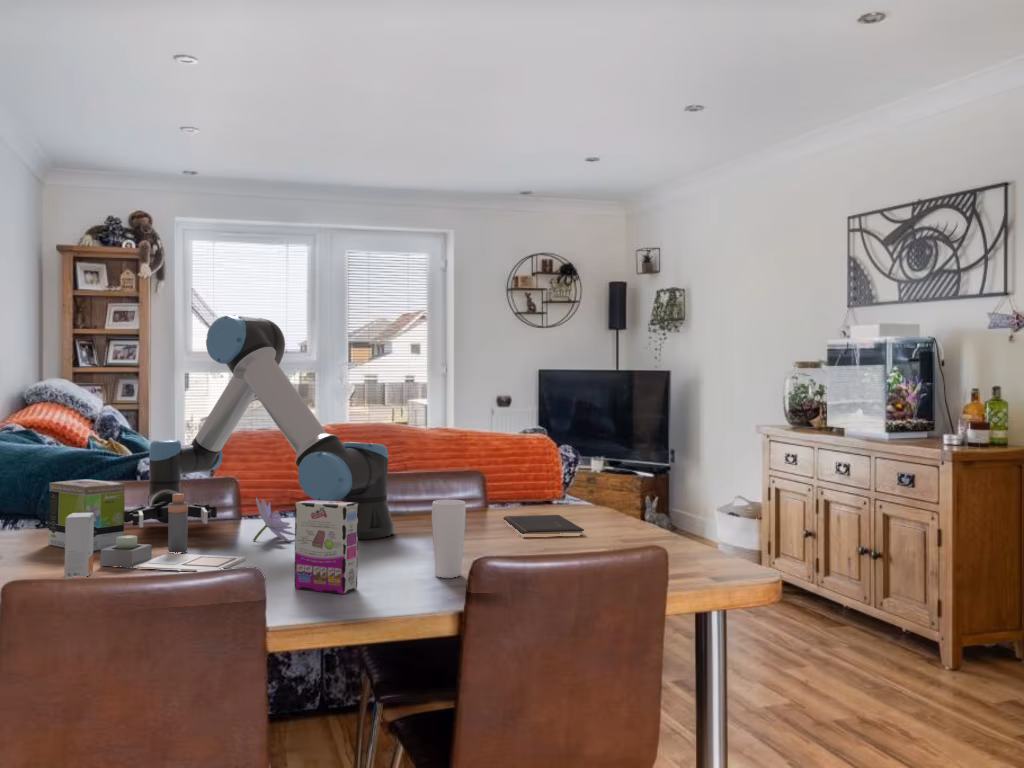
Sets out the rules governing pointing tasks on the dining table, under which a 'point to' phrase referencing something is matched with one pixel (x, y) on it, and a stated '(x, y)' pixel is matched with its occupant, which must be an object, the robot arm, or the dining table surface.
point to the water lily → (272, 521)
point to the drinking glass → (448, 536)
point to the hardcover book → (542, 524)
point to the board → (190, 562)
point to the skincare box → (79, 544)
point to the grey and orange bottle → (177, 524)
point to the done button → (126, 542)
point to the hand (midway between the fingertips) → (174, 519)
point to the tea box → (87, 509)
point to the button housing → (126, 556)
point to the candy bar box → (326, 546)
